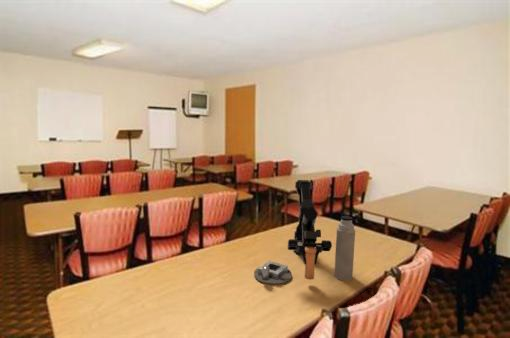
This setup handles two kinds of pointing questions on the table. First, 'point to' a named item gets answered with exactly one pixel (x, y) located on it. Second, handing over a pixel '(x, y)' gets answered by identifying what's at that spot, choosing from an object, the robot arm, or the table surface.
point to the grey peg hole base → (273, 273)
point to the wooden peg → (310, 262)
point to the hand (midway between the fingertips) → (310, 264)
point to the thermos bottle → (344, 249)
